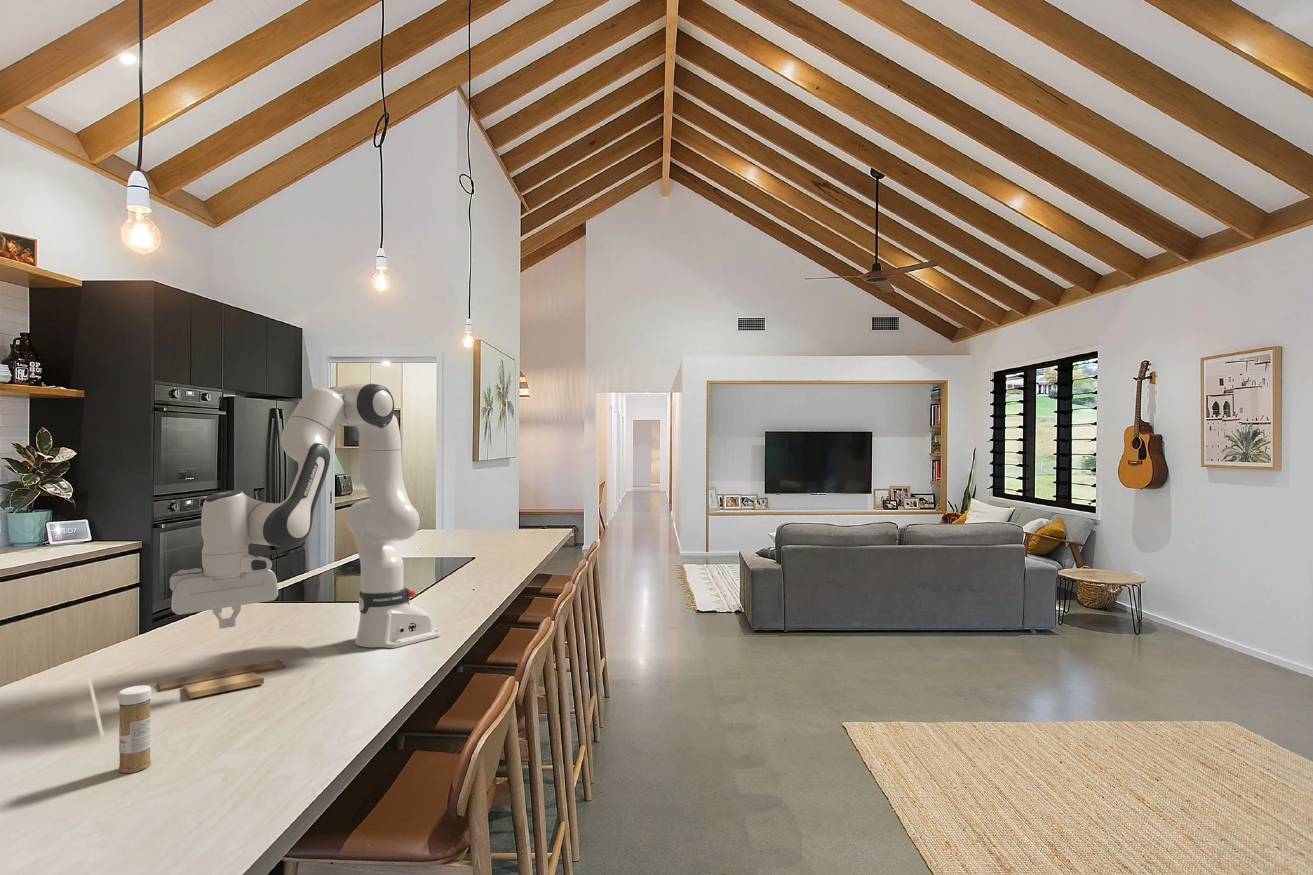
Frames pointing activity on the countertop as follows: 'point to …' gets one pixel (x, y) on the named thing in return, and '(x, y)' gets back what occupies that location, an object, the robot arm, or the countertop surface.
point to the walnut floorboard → (219, 674)
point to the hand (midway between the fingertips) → (227, 627)
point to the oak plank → (222, 684)
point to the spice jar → (134, 728)
